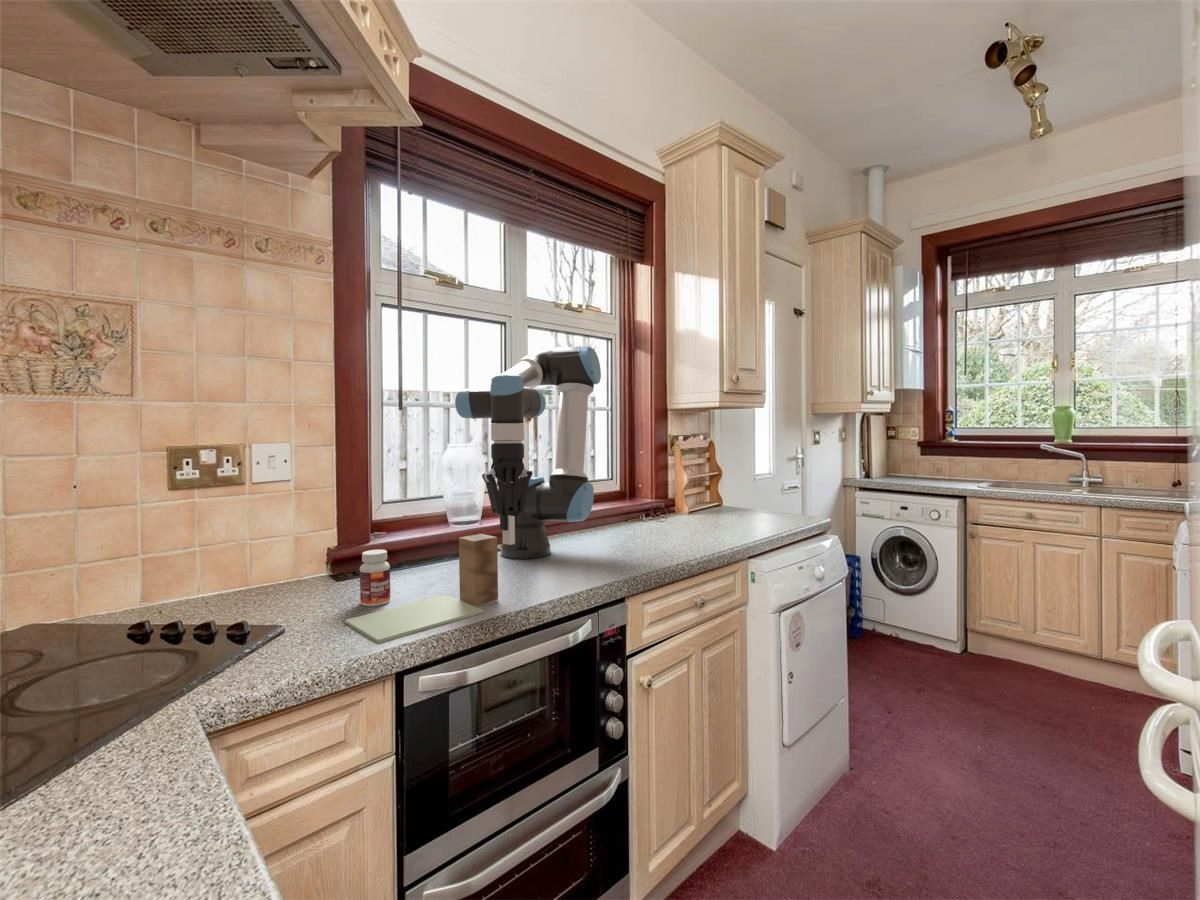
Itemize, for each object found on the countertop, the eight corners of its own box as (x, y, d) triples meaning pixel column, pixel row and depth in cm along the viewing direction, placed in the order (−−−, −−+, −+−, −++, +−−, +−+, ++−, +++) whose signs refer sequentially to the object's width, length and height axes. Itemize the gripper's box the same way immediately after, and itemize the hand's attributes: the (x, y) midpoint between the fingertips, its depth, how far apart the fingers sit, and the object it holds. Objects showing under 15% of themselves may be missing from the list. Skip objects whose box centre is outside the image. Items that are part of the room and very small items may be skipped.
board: (445, 597, 123) (445, 594, 123) (482, 612, 112) (482, 609, 112) (345, 622, 107) (345, 619, 107) (378, 643, 97) (378, 639, 97)
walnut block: (482, 594, 125) (481, 533, 124) (498, 600, 121) (497, 537, 120) (459, 600, 120) (458, 537, 120) (474, 606, 116) (473, 541, 116)
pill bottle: (372, 609, 115) (371, 556, 115) (354, 604, 118) (353, 553, 118) (396, 601, 121) (395, 550, 120) (378, 597, 124) (377, 547, 123)
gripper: (520, 441, 132) (521, 537, 133) (474, 442, 123) (475, 545, 124) (539, 441, 127) (540, 541, 128) (493, 442, 118) (495, 550, 119)
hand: (508, 543), depth 126 cm, fingers closed
